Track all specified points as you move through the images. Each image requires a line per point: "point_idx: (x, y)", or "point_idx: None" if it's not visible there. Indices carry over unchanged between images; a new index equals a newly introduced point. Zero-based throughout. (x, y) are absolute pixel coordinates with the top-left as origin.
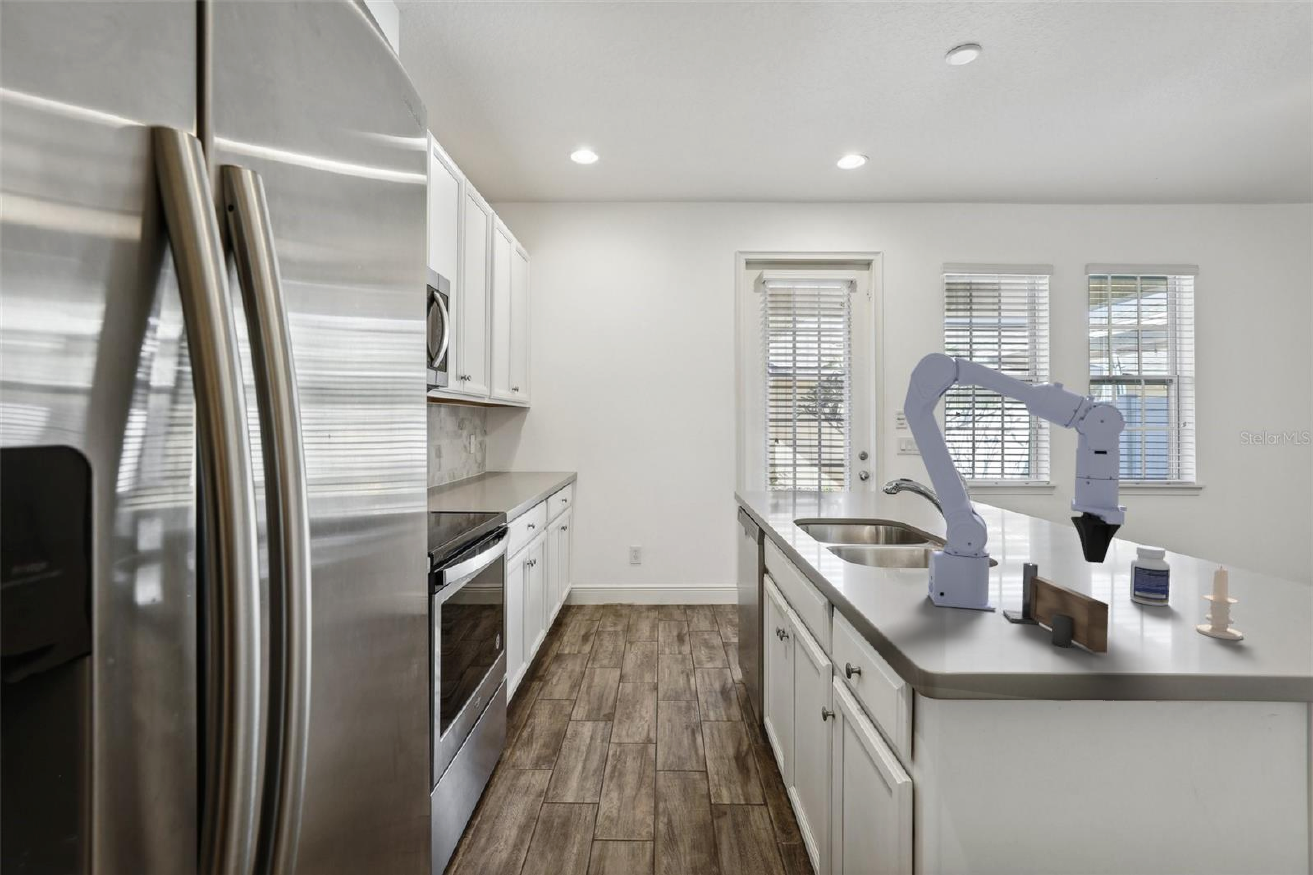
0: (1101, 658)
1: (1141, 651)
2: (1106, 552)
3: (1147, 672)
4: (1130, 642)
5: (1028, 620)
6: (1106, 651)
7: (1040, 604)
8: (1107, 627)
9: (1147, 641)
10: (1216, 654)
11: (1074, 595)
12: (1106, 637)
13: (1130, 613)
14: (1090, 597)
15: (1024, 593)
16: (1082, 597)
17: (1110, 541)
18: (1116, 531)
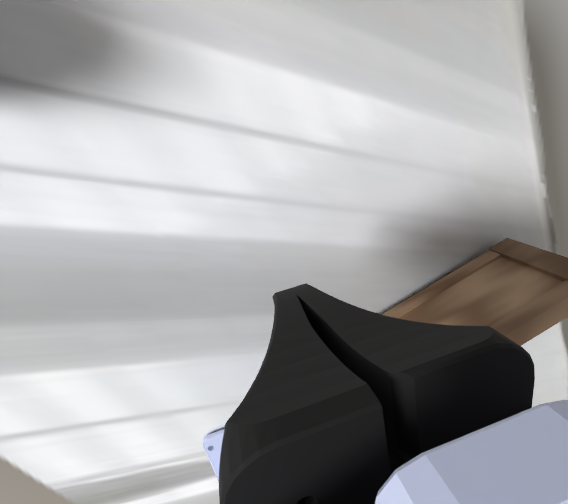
0: (497, 242)
1: (445, 172)
2: (329, 295)
3: (540, 184)
4: (397, 183)
5: None
6: (509, 239)
7: None
8: (553, 253)
9: (377, 147)
10: (415, 13)
11: (544, 329)
12: (532, 247)
13: (120, 134)
14: (561, 301)
15: None
16: (563, 316)
17: (371, 312)
18: (439, 324)
